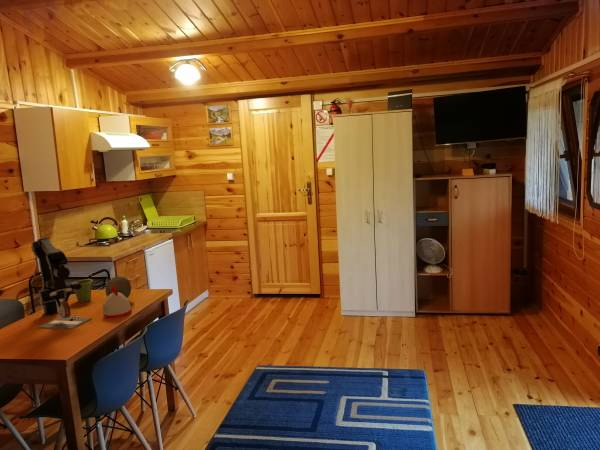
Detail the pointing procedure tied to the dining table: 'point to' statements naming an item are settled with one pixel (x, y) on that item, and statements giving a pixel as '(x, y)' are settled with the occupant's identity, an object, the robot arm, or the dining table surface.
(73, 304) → the dining table surface
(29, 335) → the dining table surface
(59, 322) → the mat
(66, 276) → the robot arm
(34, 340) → the dining table surface
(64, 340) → the dining table surface
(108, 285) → the cantaloupe
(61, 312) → the tin
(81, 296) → the plant pot
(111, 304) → the kitchen timer
